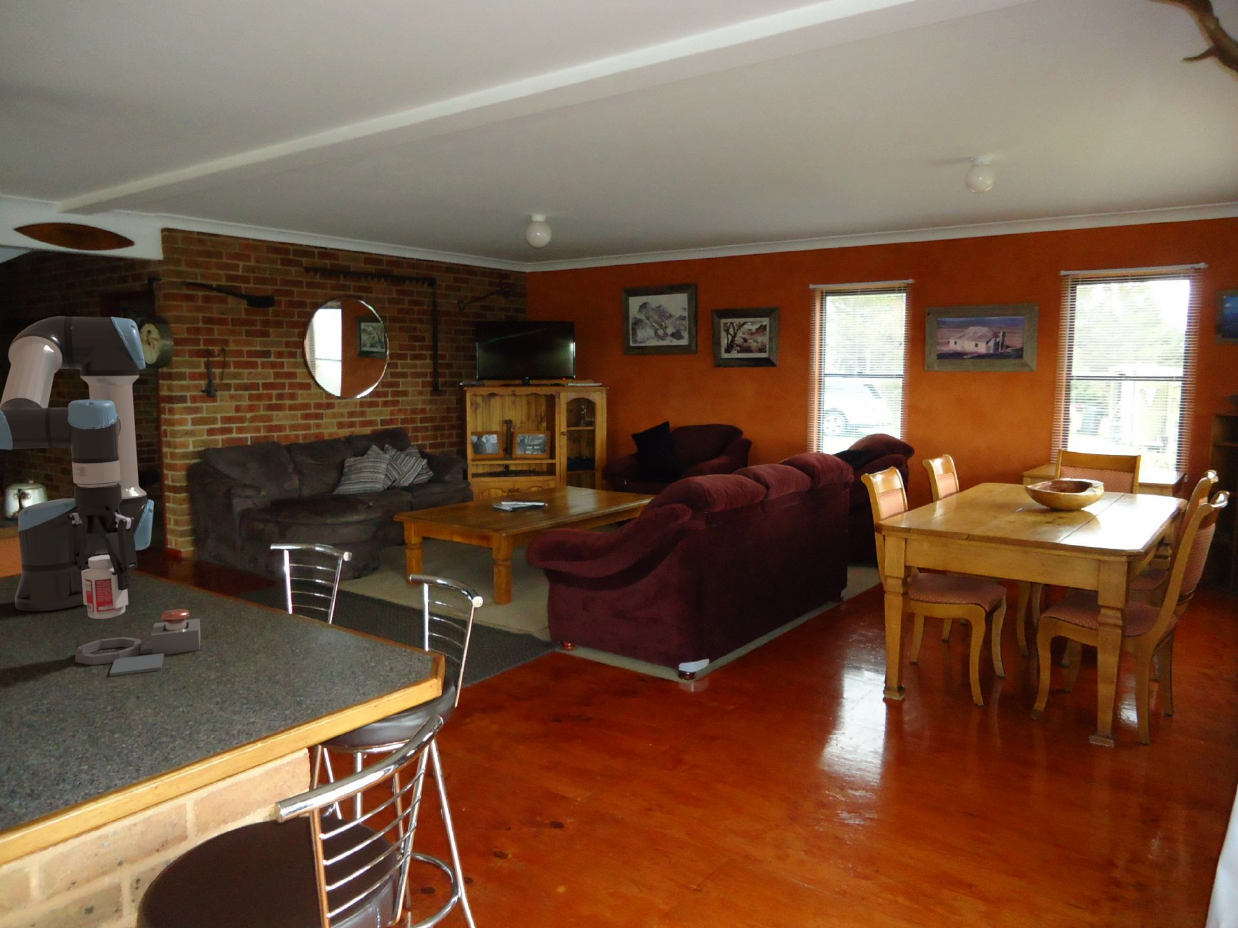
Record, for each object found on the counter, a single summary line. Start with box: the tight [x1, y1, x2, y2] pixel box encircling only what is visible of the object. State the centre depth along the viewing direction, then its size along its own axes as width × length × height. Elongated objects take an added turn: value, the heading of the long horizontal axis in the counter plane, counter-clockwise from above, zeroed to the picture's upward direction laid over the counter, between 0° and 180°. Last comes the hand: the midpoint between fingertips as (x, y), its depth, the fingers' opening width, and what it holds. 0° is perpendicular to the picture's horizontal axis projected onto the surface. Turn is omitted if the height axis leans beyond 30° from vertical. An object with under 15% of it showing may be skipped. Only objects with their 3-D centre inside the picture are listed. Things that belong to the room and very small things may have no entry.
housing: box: [74, 618, 202, 666], centre depth 166 cm, size 10×21×4 cm, turn 114°
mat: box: [109, 653, 165, 677], centre depth 158 cm, size 8×8×1 cm
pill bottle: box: [85, 554, 126, 620], centre depth 163 cm, size 6×6×11 cm
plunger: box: [160, 608, 190, 631], centre depth 168 cm, size 5×5×6 cm
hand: (106, 604), depth 163 cm, fingers closed on pill bottle, 6 cm apart
